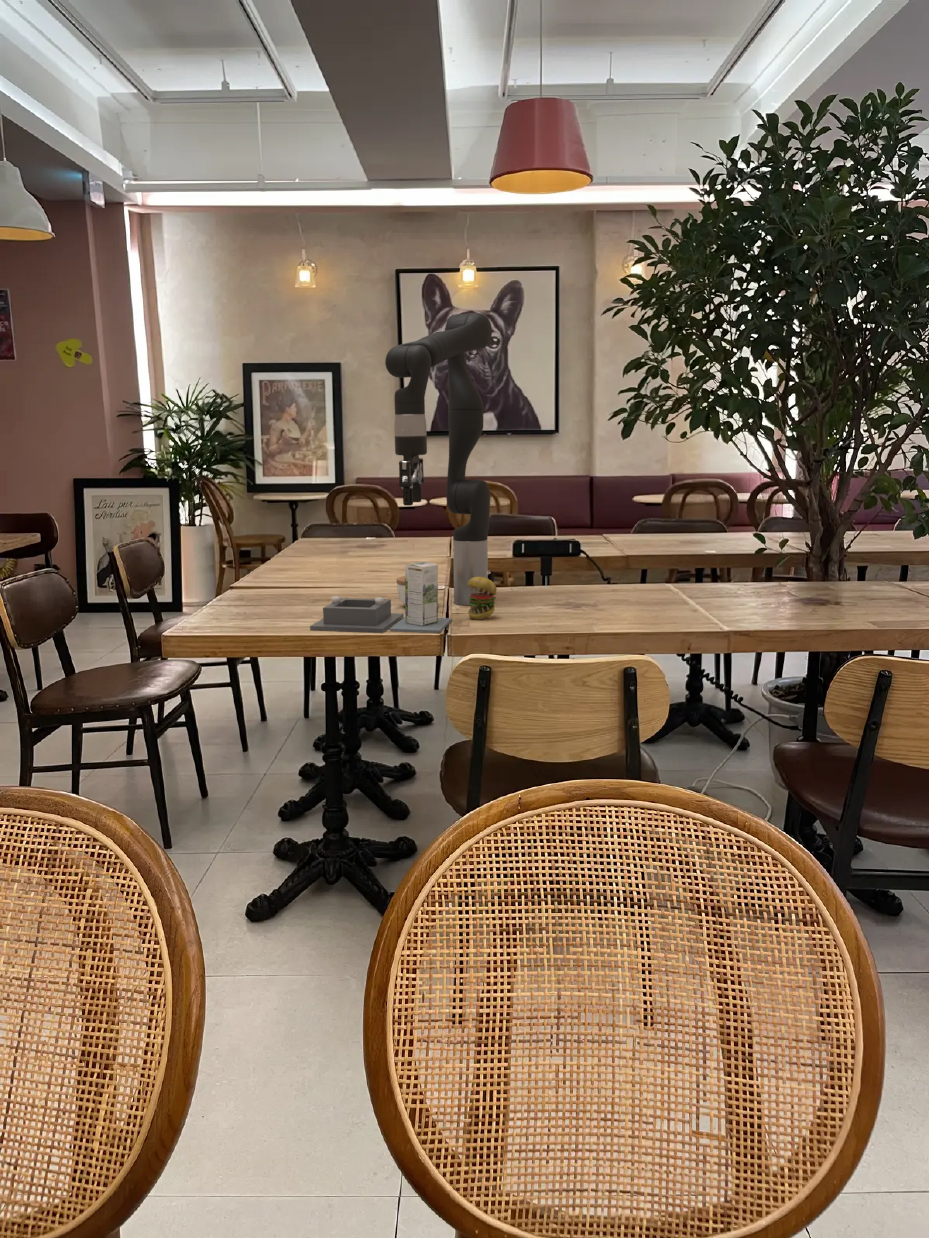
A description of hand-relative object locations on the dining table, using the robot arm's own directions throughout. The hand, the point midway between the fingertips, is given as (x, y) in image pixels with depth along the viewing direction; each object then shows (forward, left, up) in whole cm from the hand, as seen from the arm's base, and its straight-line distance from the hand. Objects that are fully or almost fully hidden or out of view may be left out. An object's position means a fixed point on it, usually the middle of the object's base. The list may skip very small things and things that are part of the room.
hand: (412, 503), depth 215 cm
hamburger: (-8, +15, -29) cm, 34 cm away
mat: (+3, +2, -29) cm, 29 cm away
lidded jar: (-20, -5, -29) cm, 36 cm away
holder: (+3, -14, -29) cm, 32 cm away
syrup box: (+3, +3, -29) cm, 29 cm away
